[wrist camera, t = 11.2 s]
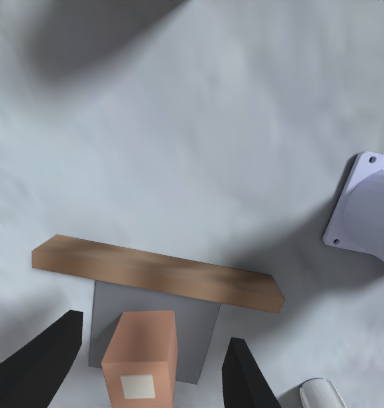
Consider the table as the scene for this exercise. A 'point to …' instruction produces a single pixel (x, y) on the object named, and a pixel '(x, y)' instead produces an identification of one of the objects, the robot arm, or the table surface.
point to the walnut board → (158, 273)
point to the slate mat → (155, 301)
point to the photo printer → (320, 395)
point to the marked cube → (142, 360)
